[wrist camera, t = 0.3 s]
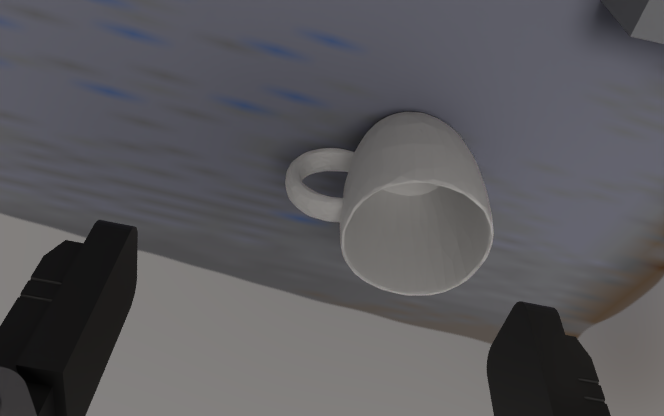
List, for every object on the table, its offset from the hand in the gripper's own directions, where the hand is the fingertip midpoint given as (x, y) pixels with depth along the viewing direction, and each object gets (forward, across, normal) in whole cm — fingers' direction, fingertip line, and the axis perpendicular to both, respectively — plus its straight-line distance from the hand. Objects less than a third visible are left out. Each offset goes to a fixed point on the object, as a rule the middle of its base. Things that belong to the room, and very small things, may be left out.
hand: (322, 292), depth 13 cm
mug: (+29, -5, +14) cm, 32 cm away
